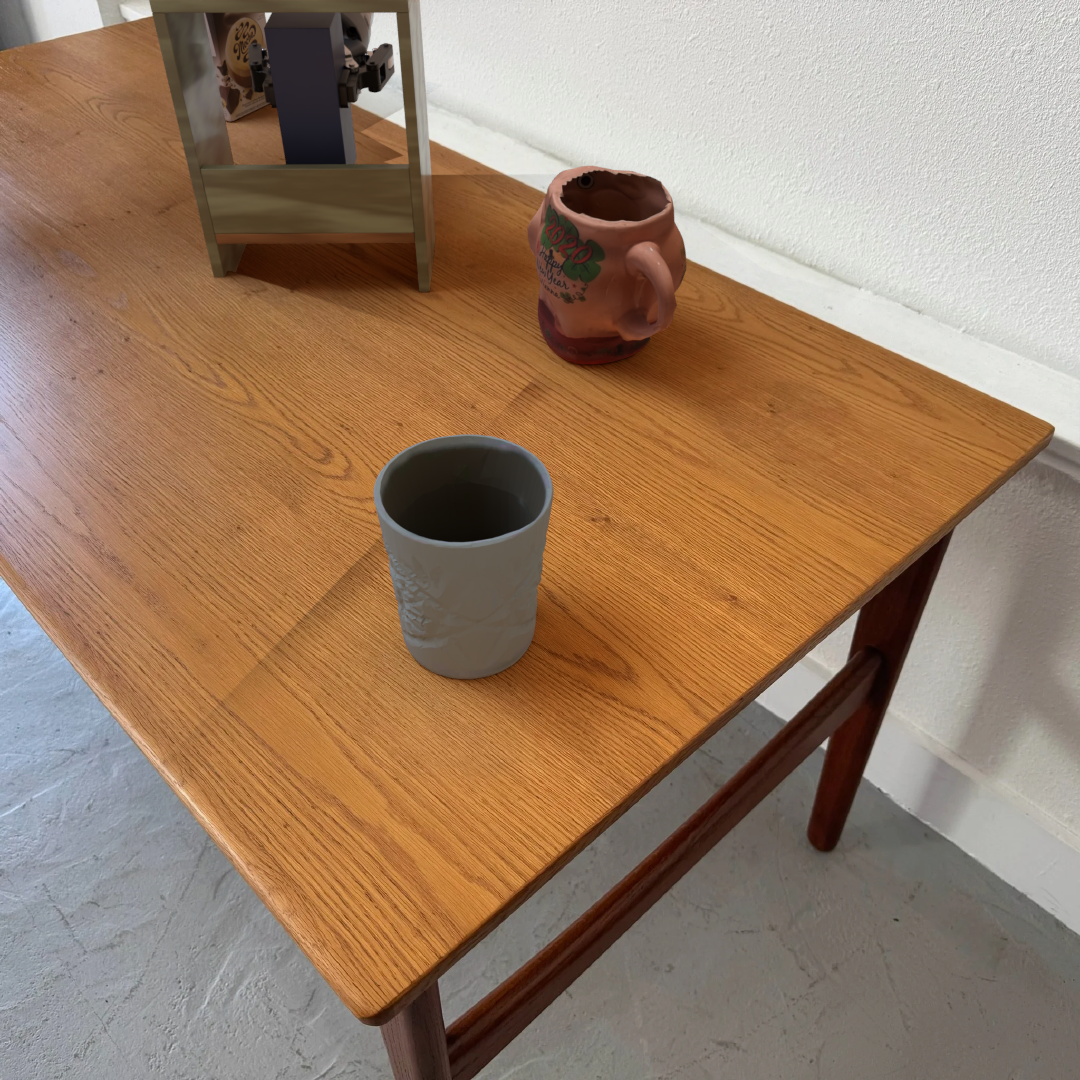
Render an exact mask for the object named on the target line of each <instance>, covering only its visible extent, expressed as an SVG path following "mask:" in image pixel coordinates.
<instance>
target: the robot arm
mask: <svg viewBox="0 0 1080 1080" xmlns="http://www.w3.org/2000/svg"><path fill="white" fill-rule="evenodd" d="M340 14H341V23H342V32H343V41H344V49H345V63H344V69H343V70H342V74H341V77H340V80H339V84H338V88H339V97H340V105H341V108H349V106H350V103H351V104H354V103H356V102H358V99H359V96H360V95H361V94H362V90H364V89H367V90H368V92H370V93H374V94H376V93H379V92H382V90H383V89H384V88H385V86H386V85H387V83H388V82H389V81H390V80H391V78H392V76H393V75H394V74H395V72H396V71H395V59H394V48H393V44H391V43H388V42H384V43H381V44H380V45H378V47H373V48H372V49H371V50H372V51H371V50H368V49H369V45H370V42H371V36H372V26H373V22H374V16H375V13H340ZM248 61H249V69H250V71H251V77H252V86H253V91H254V92H258V93H261V92H264V96H265V101H266V103H270V106H271V108H272V109H277V106H276V100H275V94H274V88H273V82H272V75H271V69H270V63H269V57H268V51H267V50H266V48H262V47H261V44H258V43H252V44H250V45H248Z"/></svg>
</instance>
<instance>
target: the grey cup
mask: <svg viewBox="0 0 1080 1080" xmlns="http://www.w3.org/2000/svg"><path fill="white" fill-rule="evenodd" d="M554 492H555V491H554V483H553V481H552V478H551V475H550V472H549V470H548V469H547V467H546V466H545V464H544V463H543V462H542V461H541V460H540V459H539V458H538V457H537V456H536V455H535V454H534V453H532V452H531V451H530V450H528V449H526V448H525V447H524V446H522V445H519V444H517V443H515V442H512V441H510V440H508V439H504V438H499V437H496V436H493V435H483V434H473V433H472V434H454V435H446V436H438V437H434V438H430V439H427V440H423V441H420V442H418V443H415V444H413V445H410V446H409V447H406V448H405V449H403V450H402V451H400V452H398V453H397V454H396V455H395V456H393V457H392V458H391V459H390V460H389V461H388V462H386V463H385V464H384V466H383V467H382V469H381V470H380V472H379V474H378V475H377V477H376V479H375V482H374V486H373V501H374V506H375V512H376V515H377V519H378V523H379V526H380V532H381V536H382V542H383V547H384V550H385V552H386V554H387V557H388V568H389V572H390V573H389V574H390V578H391V582H392V587H393V591H394V598H395V599H396V601H397V607H398V608H397V613H398V617H399V623H400V628H401V632H402V637H403V641H404V644H405V646H406V648H407V650H408V652H409V653H410V655H411V656H412V657H413V658H414V660H415V661H416V662H417V663H418V664H419V665H421V667H423V668H424V669H426V670H428V671H430V672H432V673H434V674H437V675H439V676H442V677H446V678H449V679H456V680H476V679H481V678H487V677H490V676H494V675H496V674H499V673H501V672H503V671H505V670H507V669H508V668H510V667H512V666H513V665H514V664H516V663H517V662H519V660H520V659H522V658H523V656H524V655H525V654H526V652H527V651H528V649H529V648H530V646H531V643H532V641H533V639H534V635H535V631H536V623H537V611H538V594H539V592H538V587H539V586H540V583H541V582H542V574H543V567H544V566H543V565H544V564H543V562H544V552H545V549H546V545H547V534H548V530H549V525H550V521H551V520H550V519H551V513H552V508H553V500H554Z"/></svg>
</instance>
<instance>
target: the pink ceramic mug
mask: <svg viewBox="0 0 1080 1080" xmlns="http://www.w3.org/2000/svg"><path fill="white" fill-rule="evenodd" d="M526 231H527V241H528V244H529V248H530V251H531V253H532V254H533V256H534V257H535V268H536V273H537V277H538V280H539V282H540V285H539V289H538V299H537V301H538V302H537V320H538V325H539V329H540V332H541V334H542V338H543V340H544V341H545V342H546V344H547V345H548V347H549V348H550V350H551V351H553V352H554V353H555V355H558V356H559V357H560V358H561V359H563V360H565V361H567V362H570V363H574V364H578V365H600V364H609V363H614V362H618V361H620V360H624V359H627V358H629V357H632V356H634V355H635V354H637V353H638V352H640V351H641V350H643V349H644V348H645V347H646V346H647V345H648V344H649V343H650V340H651V338H652V336H654V335H656V334H657V333H661V332H663V331H665V330H668V328H669V327H670V325H671V324H672V321H673V319H674V314H675V311H676V309H677V307H678V304H677V299H676V292H677V291H678V290H679V288H680V286H681V285H682V282H683V281H684V277H685V274H686V272H687V251H686V246H685V242H684V238H683V235H682V234H681V231H680V229H679V228H678V225H677V224H676V222H675V206H674V201H673V197H672V195H671V193H670V192H669V191H668V189H667V188H666V187H665V185H664V184H663V183H662V181H661V180H659V179H657V178H655V177H652V176H649V175H646V174H643V173H641V172H637V171H633V170H623V169H622V170H621V169H612V168H607V167H602V166H597V165H582V166H578V167H574V168H569V169H565V170H562V171H560V172H559V173H557V175H555V177H553V179H552V181H551V182H550V184H549V185H548V187H547V189H546V194H545V196H544V198H543V199H542V202H541V205H540V206H539V208H538V210H537V211H536V213H535V214H534V215H533V216H532V218H531V220H530V222H529V223H528V225H527V230H526Z"/></svg>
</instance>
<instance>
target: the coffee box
mask: <svg viewBox="0 0 1080 1080" xmlns="http://www.w3.org/2000/svg"><path fill="white" fill-rule="evenodd" d="M204 17H205V22H206V27H207V32H208V37H209V42H210V47H211V52H212V57H213V62H214V67H215V72H216V77H217V82H218V87H219V92H220V96H221V101H222V106H223V111H224V116H225V121H226V122H234V121H236V120H238V119H240V118H242V117H244V116H246V115H249V114H251V113H253V112H255V111H257V110H259V109H261V108H263V107H266V106H268V105H269V104H270V105H271V103H266V101H265V96H264V92H261V93H258V92H254V91H253V86H252V77H251V71H250V69H249V61H248V45H250V44H252V43H258V44H261V47H262V48H266V50H267V45H266V38H265V32H264V27H265V25H266V23H267V18H266V17H267V16H266V13H204Z"/></svg>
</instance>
